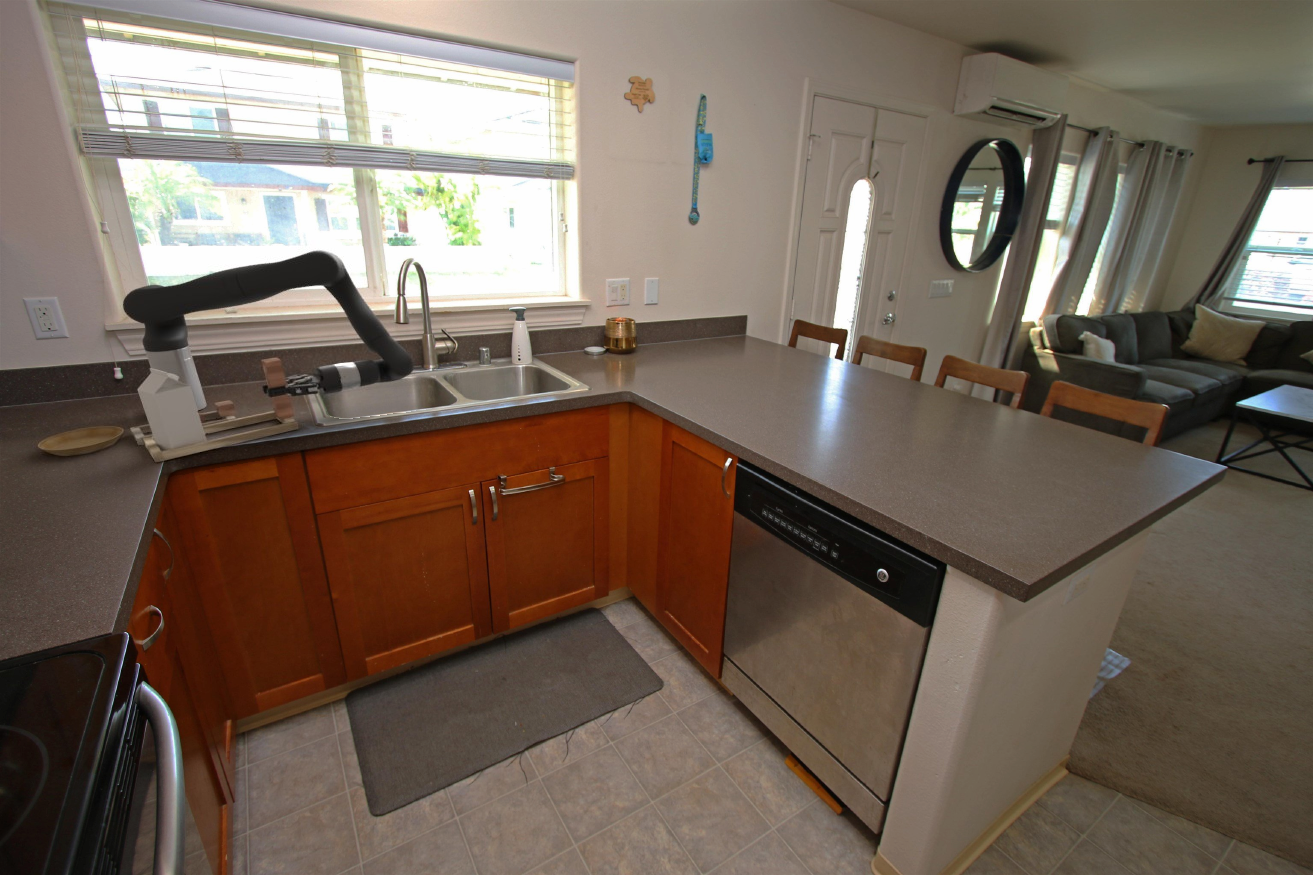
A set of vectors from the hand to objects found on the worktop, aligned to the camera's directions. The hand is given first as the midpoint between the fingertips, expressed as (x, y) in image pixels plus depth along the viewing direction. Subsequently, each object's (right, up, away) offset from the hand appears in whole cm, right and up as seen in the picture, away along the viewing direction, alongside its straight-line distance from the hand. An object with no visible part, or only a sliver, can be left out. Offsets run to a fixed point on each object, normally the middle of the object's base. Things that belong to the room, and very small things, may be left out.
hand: (265, 391), depth 146 cm
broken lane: (-21, -9, +1) cm, 23 cm away
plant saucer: (-36, -14, -9) cm, 40 cm away
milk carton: (-12, -14, -10) cm, 22 cm away
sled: (-7, -11, -3) cm, 14 cm away
